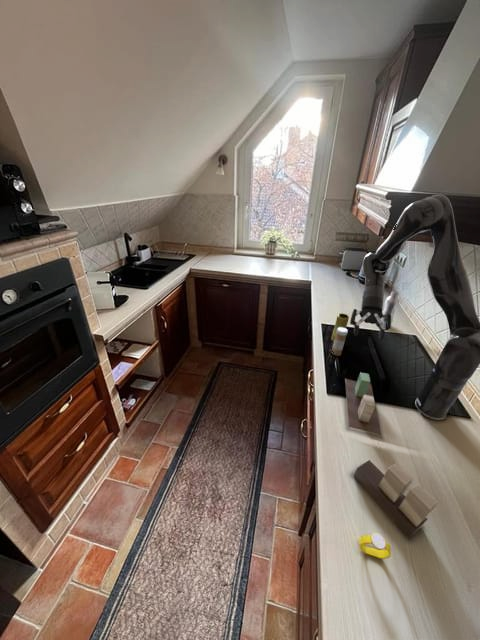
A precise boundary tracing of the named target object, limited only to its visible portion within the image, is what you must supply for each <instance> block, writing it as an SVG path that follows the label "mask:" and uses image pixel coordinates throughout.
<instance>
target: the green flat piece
mask: <svg viewBox="0 0 480 640" xmlns="http://www.w3.org/2000/svg"><path fill="white" fill-rule="evenodd" d="M356 381H357V383H356V386H355V392H356V396H360V397H363V395H366V392H367V389H368V387H369V384H371V377H370V374H369V373H365V372H361V371H360V373H359V375H358V377H357V380H356Z"/></svg>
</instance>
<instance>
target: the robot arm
mask: <svg viewBox="0 0 480 640" xmlns="http://www.w3.org/2000/svg"><path fill="white" fill-rule="evenodd" d="M396 224H397V225H396ZM396 224H395V225H396V229H395V230H393V229H392V231H391V232H390V234H389V235H388V237H387V238H386V239H385V240H384V242H383V243H381V245H380V246H379V247H378V248H377V249H376V251H375V252H369V253H367V254H365V256H364V257H363V259H362V269H363V272H364V279H365V281H364V289H363V293H362V300H361V308H360V310H357V309H356V308H354V309H353V310H352V311H351V316H350V320H349V324H350V325H352V326H353V327H354V328H353V334H354V335H355V337H358V336H359V333H360V325H362V323H363V322H364V323H366V324H370V325H375V326H376V328H378V329H379V331H378V341H382V340H383V339H384V338H385V332H386V331H389V330H391V329H392V324H391V315H390V314H388V315H383V310H384V300H385V299H384V298H385V280H386V278H385V275H383V274H381V273H384V272H387V271H389V269H391V266H392V263H393V262H394V260H395V259H396V258H397V257H398V256H399V255H400V254H401V253H402V252H403V251H404V249H405V248H406V245H407V241H408V240H409V239H411V238H413V237H414V236H416V235H417V234H423V233H425V232H428V231H431V229H432V231H433V236H432V235H431V238H432V243H433V245H432V246H433V248H432V253H431V256H430V259H429V262H428V266H427V271H426V277H427V281H428V282H427V283H428V285H429V288H430V291H431V294H432V297H433V298H434V300H435V302H436V303H437V305H438V306H439V307H440V308H441V310H442V312H443V313H444V315H445V317H446V319H447V323H448V324H447V325H448V329H449V338H448V340H447V341H446V343H445V345H444V347H443V348H442V350H441V352H440V354H439V356H438V358H437V360H436V361H435V364H434V367H433V368H432V370H431V372H430V374H429V376H428V378H427V379H426V381H425V383H424V385H423V387H422V389H421V390H420V393H419V395H418V397H417V398H416V399H415V402H414V403H415V404H414V405H415V407H416V408H417V410H419V412H420V414H421V415H422V416H424V417H425V418H427V419H430V420H433V421H443V420H445V418H446V416H447V414H448V413H449V411H450V410H451V408H452V407H453V405H454V403H455V402H456V400H457V399H458V398H459V396H460V394H461V393H462V391H463V390H464V388H465V386H466V384H467V383H468V381H469V380H470V379H471V378H472V376H473V375H474V374H475V372H476V371H477V369H478V367H479V366H480V318H479V317H478V314H477V310H476V306H475V300H474V295H473V290H472V286H471V282H470V278H469V275H468V271H467V268H466V265H465V262H464V259H463V256H462V252H461V248H460V244H459V240H458V239H459V238H458V235H457V234H458V233H457V227H456V222H455V215H454V210H453V206H452V203H451V201H450V199H449V198H448V197H447V196H446V195H444V194H441V193H437V194H433V195H431V196H427V197H425V198H422V199H419V200H416V201H414V202H412V203H410V204H409V205H408V206H406V207H405V208H404V210H403V211H402V213H401V215H400V216H399V218H398V220H397V222H396ZM358 315H359V316H360V319H359V320H358V321H356V317H357V316H358ZM382 317H383V318H384V320H385V326H384V325H383V322H382V321H381V318H382Z"/></svg>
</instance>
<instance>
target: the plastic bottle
mask: <svg viewBox="0 0 480 640" xmlns="http://www.w3.org/2000/svg"><path fill="white" fill-rule="evenodd" d="M400 294H401V293H400V292H399V291H397V290H392V291H391V293H390V295H389V296H388V297H386V299H385V302H384V306H383V309H382V313H383V315H388V314H390V315H391V325H392V324H393V322H394V321H393V320H394V315H395V312H396V310H397V308H398V306H399V304H400V298H399V297H400ZM381 321H382V322H383V325H384V326H385V320H384V318H383V317H382V318H381Z"/></svg>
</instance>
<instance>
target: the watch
mask: <svg viewBox="0 0 480 640" xmlns="http://www.w3.org/2000/svg"><path fill="white" fill-rule="evenodd" d="M358 542H359V548H360V550H361V552H363V553H364V554H366V555H368V556H372V557H373V558H374V557H375V558H377V559H383V560H384V559H385V560H386V559H389V558H390V557H391V556H392V552H391V546H390V544H389V543H388V542H387V541H386V540H385V538H384V537H383V536H382V534H380V533H378V532H373V533H371V535H368V534H367V535H363V536H360V538H359V540H358ZM367 544H370V545H372V546H373V547H374V548H373V547H370V546H367Z"/></svg>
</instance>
